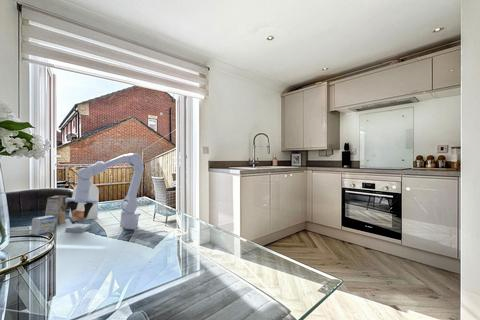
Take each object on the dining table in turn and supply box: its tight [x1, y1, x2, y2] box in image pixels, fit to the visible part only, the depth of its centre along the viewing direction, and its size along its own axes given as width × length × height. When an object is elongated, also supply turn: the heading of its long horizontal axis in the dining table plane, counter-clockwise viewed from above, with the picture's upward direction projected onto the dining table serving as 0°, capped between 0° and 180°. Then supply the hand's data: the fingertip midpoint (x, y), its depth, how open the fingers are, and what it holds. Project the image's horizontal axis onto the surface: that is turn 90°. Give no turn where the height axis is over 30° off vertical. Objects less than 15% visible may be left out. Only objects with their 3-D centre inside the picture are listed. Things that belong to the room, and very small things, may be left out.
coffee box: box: [44, 194, 69, 227], centre depth 127 cm, size 9×6×16 cm
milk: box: [68, 177, 100, 221], centre depth 148 cm, size 12×12×26 cm
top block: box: [64, 223, 92, 233], centre depth 121 cm, size 8×8×2 cm
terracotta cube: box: [71, 209, 88, 222], centre depth 121 cm, size 5×5×5 cm
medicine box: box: [30, 215, 56, 236], centre depth 113 cm, size 8×4×9 cm, turn 168°
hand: (79, 216), depth 121 cm, fingers closed on terracotta cube, 5 cm apart
